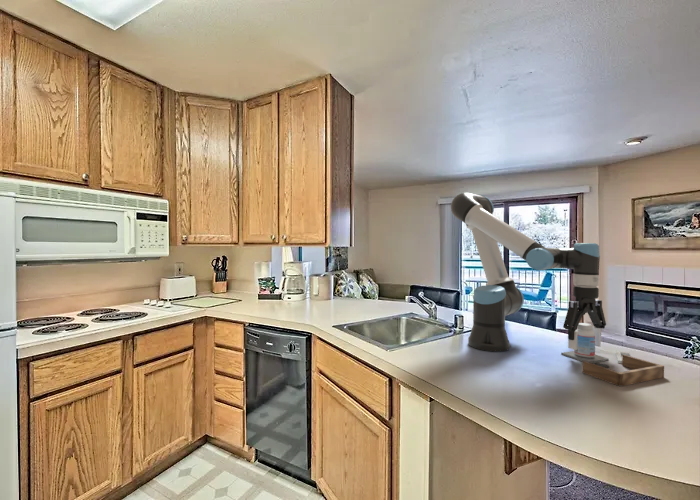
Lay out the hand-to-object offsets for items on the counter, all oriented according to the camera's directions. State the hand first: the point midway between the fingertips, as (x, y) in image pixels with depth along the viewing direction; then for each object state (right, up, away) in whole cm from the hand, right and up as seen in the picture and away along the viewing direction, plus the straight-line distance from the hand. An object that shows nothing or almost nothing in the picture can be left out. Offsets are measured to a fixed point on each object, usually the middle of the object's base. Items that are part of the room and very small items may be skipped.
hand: (584, 347), depth 122 cm
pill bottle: (0, -3, 0) cm, 3 cm away
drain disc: (0, -4, -8) cm, 9 cm away
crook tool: (+13, -4, -2) cm, 14 cm away
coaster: (0, -4, 0) cm, 4 cm away
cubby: (0, -4, -16) cm, 16 cm away
